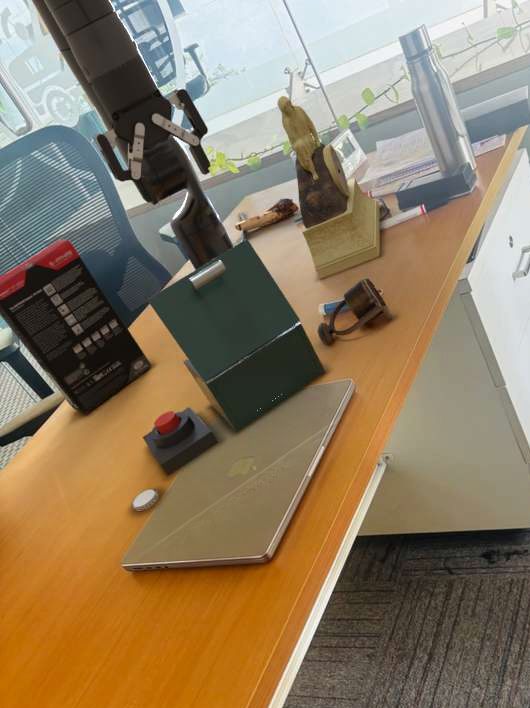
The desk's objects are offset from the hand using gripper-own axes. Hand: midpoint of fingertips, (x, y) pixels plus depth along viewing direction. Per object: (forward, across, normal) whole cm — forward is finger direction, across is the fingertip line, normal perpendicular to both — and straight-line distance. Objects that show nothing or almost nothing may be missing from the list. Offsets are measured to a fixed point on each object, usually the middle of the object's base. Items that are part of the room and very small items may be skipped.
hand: (180, 188), depth 97 cm
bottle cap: (+30, +30, +15) cm, 45 cm away
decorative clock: (+32, -33, -31) cm, 55 cm away
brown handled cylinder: (+31, -14, +5) cm, 34 cm away
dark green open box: (+30, +5, +6) cm, 31 cm away
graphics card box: (+31, +25, -32) cm, 51 cm away
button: (+27, +21, +6) cm, 34 cm away
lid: (+15, +5, +9) cm, 18 cm away
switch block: (+30, +21, +6) cm, 37 cm away
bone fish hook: (+33, -32, -76) cm, 89 cm away
